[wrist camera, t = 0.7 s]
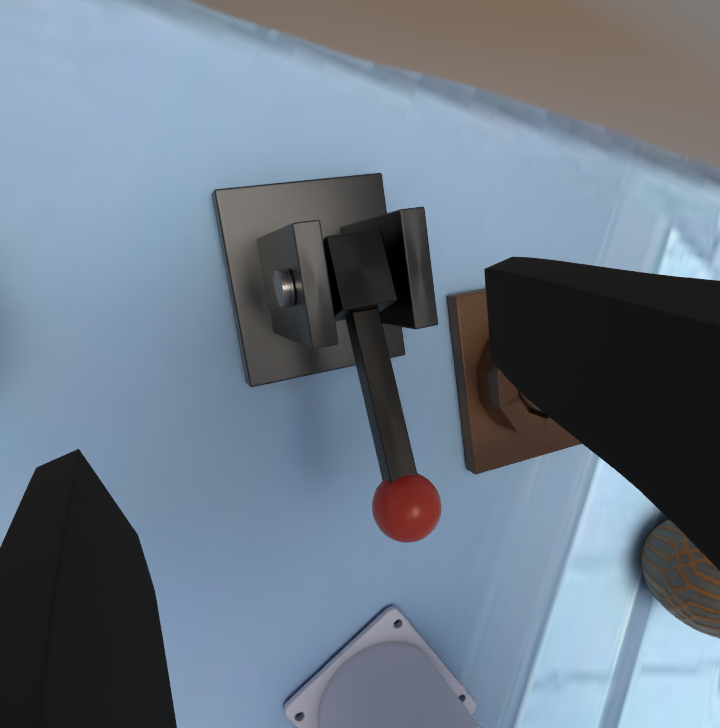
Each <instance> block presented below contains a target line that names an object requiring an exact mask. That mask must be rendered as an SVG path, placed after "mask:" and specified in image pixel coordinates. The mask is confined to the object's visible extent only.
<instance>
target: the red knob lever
mask: <svg viewBox="0 0 720 728" xmlns="http://www.w3.org/2000/svg"><path fill="white" fill-rule="evenodd" d="M323 243H324V250H325V257H326V263H327V270H328V276H329V283H330V289H331V296H332V303H333V309H334V316H335V321H341V320H346V323H347V327H348V332H349V336H350V340H351V345H352V349H353V354H354V358H355V362H356V367H357V371H358V375H359V380H360V384H361V388H362V393H363V397H364V401H365V406H366V410H367V415H368V419H369V423H370V428H371V432H372V436H373V441H374V445H375V449H376V454H377V458H378V462H379V467H380V471H381V475H382V480H383V481H382V482H381V484H380V485H379V486H378V488H377V489H376V491H375V494H374V497H373V502H372V511H373V516H374V519H375V522H376V524H377V525H378V527H379V528H380V530H381V531H382V532H383V533H384V534H385V535H387V536H388V537H390V538H391V539H393V540H396V541H399V542H415V541H419V540H421V539H423V538H425V537H426V536H428V535H429V534H430V533H431V532H432V531H433V530H434V529H435V527H436V525H437V524H438V521H439V518H440V514H441V501H440V497H439V494H438V492H437V490H436V488H435V487H434V485H433V484H432V483H431V482H430V481H429V480H428V479H426V478H425V477H424V476H422V475H420V474H417V471H416V467H415V462H414V458H413V454H412V450H411V445H410V441H409V437H408V432H407V428H406V424H405V420H404V415H403V411H402V407H401V403H400V398H399V394H398V390H397V385H396V381H395V377H394V373H393V368H392V364H391V360H390V355H389V351H388V347H387V343H386V338H385V334H384V330H383V325H382V321H381V317H380V313H379V312H381V311H382V310H384V309H385V308H387V307H388V306H390V305H391V304H393V303H394V302H396V301H397V296H396V291H395V287H394V283H393V279H392V275H391V270H390V266H389V262H388V258H387V253H386V249H385V245H384V241H383V236H382V232H381V229H377V230H370V231H362V232H355V233H347V234H340V235H332V236H326V237H325V239H324V240H323Z"/></svg>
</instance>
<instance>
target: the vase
mask: <svg viewBox="0 0 720 728" xmlns="http://www.w3.org/2000/svg"><path fill="white" fill-rule="evenodd" d="M642 568H643V574H644V577H645V580H646V582H647V585H648V587H649V589H650V590H651V592H652V593H653V595H654V596H655V598H656V599H657V600H658V601H659V602H660V603H661V605H662V606H663V607H664V608H665V609H666V610H667V611H669V612H670V613H671V614H672V615H674V616H675V617H676V618H678V619H679V620H680V621H682V622H683V623H685V624H686V625H688V626H690V627H692V628H693V629H695V630H697V631H700V632H702V633H705V634H707V635H710V636H713V637H717V638H720V571H719V570H718V569H717V568H716V567H715V566H714V565H713V564H712V563H711V562H710V561H709V560H708V558H707V557H706V556H705V555H704V554H703V553H702V552H701V551H700V550H699V549H698V548H697V547H696V546H695V545H694V544H693V543H692V542H691V541H690V540H689V539H688V538H687V537H686V536H685V534H684V533H683V532H682V531H681V530H680V529H679V528H678V527H677V526H676V525H675V524H674V523H672V522H671V521H670V520H669V519H668V520H666V521H664V522H662V523H661V524H659V525H658V526H657V527H655V528H654V529H653V530H652V531H651V533H650V534H649V535H648V537H647V539H646V541H645V543H644V546H643V550H642Z"/></svg>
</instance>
